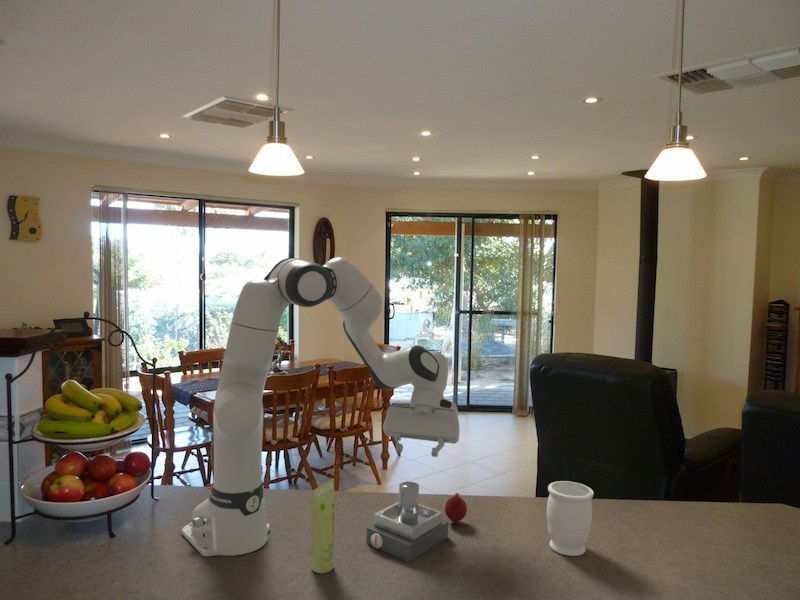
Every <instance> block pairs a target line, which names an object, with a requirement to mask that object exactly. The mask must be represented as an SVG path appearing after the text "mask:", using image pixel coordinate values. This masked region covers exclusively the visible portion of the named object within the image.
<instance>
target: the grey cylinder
mask: <svg viewBox="0 0 800 600" xmlns="http://www.w3.org/2000/svg"><path fill="white" fill-rule="evenodd" d="M398 485H399V487H398V502H399V515H398V521H399V522H401V523H404V524H406V525H415V524H417V522H418V504H419V500H420V499H419V497H420V496H419V494H420V484H418V483H417V482H415V481H403V482H401V483H399V484H398Z"/></svg>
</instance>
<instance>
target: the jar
mask: <svg viewBox="0 0 800 600" xmlns="http://www.w3.org/2000/svg"><path fill="white" fill-rule="evenodd" d="M547 491H548V492H549V495H548V499H547V503H546V519H547V520H546V521H547V529H548V533H549V536H550V537H549V538H550V539H551V540H550V541H549V544H548V545H549V547H550V549H552V551H554V552H555V553H557V554H561V555H562V556H563V555H564V556H567V557H568V556H569V557H579V556H582V555H584V553H586V545H585V544H586V543H587V540H588V538H589V534H590V529H591V526H592V520H593V506H592V499H593V497H594V491H593V489H592V488H590V487H589V486H587V485H585V484H583V483H579V482H577V481H575V482H574V481H569V480H560V481H559V480H558V481H554V482H551V483H549V484H548V485H547Z"/></svg>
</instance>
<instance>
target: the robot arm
mask: <svg viewBox="0 0 800 600" xmlns="http://www.w3.org/2000/svg"><path fill="white" fill-rule="evenodd" d="M327 300H328V301H329V302H331V304H332V305H333V306H334V308H336V310H337V311H338V313H339V314H340V316H341V317H342V319H343V322H342V328H343V330H344V334H345V335H346V337H347V338H348V340H349V342H350V343H351V345H352V347H353V348H354V349H355V352H356V353H357V354H358V356H359V357H360V359H361V360H362V361H363V363H364V365H365V366H366V368H367V370H368V371H369V374H370V377H371V379H372V381H373V383H374V384H375V385H376V386H377V387H378V388H379V389H381V390H383V391H388V392H389V391H392V390H394V389H397V388H400V387H402V386H406V385H412V386H413V389H412V393H411V396H410V401H409V404H406V403H405V404H404V403H403V404H401V403H396V402H395V403H393V404H391V405H389V406H388V407H387V410H386V417H385V419H384V421H383V425H382V431H383V433H384V434H385V436H387V437H393V438H394V440H395V445H396V446H395V452H396V453H403V450H404V446H403V443H400V442H401V440H402V439H411V440H412V439H413V440H419V441H427V442H436V443H438V444H437V445H436V446H435V447H432V448H431V452H430V453H431V457H435V458H438V457H439V452H440V451H441V450H442V449H443V448H444V446H445V444H446V443H447V444H452V445H453V444H457V443H458V442H459V441H460V431H461V430H460V421H459V410H458V407H457V404H456V403H455V402H453V401H451V400H449V399H446V398H445V395H444V392H445V391H446V388H447V385H448V384H447V383H448V377H449V364H448V359H447V357H445V355H443V354H442V353H441V352H438V351H435V350H428V349H426V348H425V347H424V346H421V345H412V346H409V347H406V348H405V347H404V348H402V349H399V350H397V351H392V352H384V351H382V350H381V348H380V347H379V346H378V344H377V342H376V341H375V339H374V337H373V336H372V334H371V332H370V329H371V327H372V326H374V324H375V323H376V322H377V320H378V318H379V317H380V315H381V312H382V309H383V298H382V295H381V294H380V292H379V291H378V289H377V288H376V286H375V285H374V284H373V282H371V281H370V280H369V278H368V277H367V276H366V275H365V274H364V273H363V271H361V269H359V268H358V267H357V266H356V265H355V264H354V263H352V262H351V260H348V258H346V257H341V256H338V257H334V258H331V259H329V260H328V261H326V262H325V263H324V264H322V265H321V264H320V263H317V262H312V261H310V260H308V259H305V258H297V257H288V258H285V259H282V260H280V261H278V262H277V263H276V264H275V265H274V266H273V267H272V269H271V270H269V272H268V273H267V274H266V276H265V277H264V278H263V279H262V278H261V279H260V278H257V279H256V278H255V279H252V280H250V281H247V282H246V283H245V284H244V285H243V286H242V289H241V291H240V293H239V295H238V298H237V300H236V303H235V306H234V307H235V308H234V311H233V315H232V318H231V322H230V328H229V332H228V337H227V341H226V347H225V349H224V350H225V351H224V356H223V360H222V365H221V369H220V372H219V373H220V374H219V378H218V383H217V388H216V391H215V397H214V404H213V412H212V415H213V416H212V417H213V419H212V421H213V422H212V424H213V427H212V428H213V483H209V484H207V486H208V487H207V490H210V493H209V496H208V498H206V499H205V500H204V501H202V502H201V503H199V504H198V505H197V506H195V508H194V509H193V511H192V515H191V522H189V523H188V524H186V525H185V526H183V527H182V529H181V535H183V537H184V538H186V540H187V541H188V542H189V543H190V544H191V545H192V546H193V548H195V550H197V552H198V553H200V555H201V556H202V557H213V556H238V555H239V556H240V555H244V554H249V553H252V552H254V551H257V550H259V549H260V548H262V547H263V546H264V545H265V544H266V543H267V542H268V540H269V539H268V538H269V537H268V533H269V531H270V530H271V527H270V523H269V522H267V519H268V518H267V512H266V511H267V509H266V501H265V498H264V481H263V480H262V469H263V468H262V466H263V465H262V463H263V462H262V461H263V460H262V458H263V452H262V451H263V450H262V449H263V436H264V435H263V433H264V430H263V429H264V405H263V394H264V390H265V386H266V382H267V379H268V375H269V372H270V368H271V365H272V363H273V358H274V353H275V349H276V344H277V340H278V335H279V330H280V325H281V318H282V316H283V313H284V312H285V310H286V309H287V307H288V306H290V305H291V304H293V305H296V306H299V307H301V308H313V307H317V306H318V305H320V304H322V303H324V301H327ZM399 441H400V442H399Z"/></svg>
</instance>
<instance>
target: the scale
mask: <svg viewBox="0 0 800 600" xmlns="http://www.w3.org/2000/svg"><path fill="white" fill-rule="evenodd" d="M448 537H449V521H448V520H445V519H442V524H440V525H439V526H437V527H435V528H434V529H432V530H430V531H429V532H427V533H425V534H424V535H422V536H420V537H419V538H417V539H415V540H414V541H412V540H409V539H407V538H404V537H402V536H400V535H397V534H395V533H392V532H390V531H387V530H385V529H383V528H380V527H378V526H375V525H374V523H373V524H371V525H370V526H367V527H366V544H367V545H369V546H371V547H373V548H375V549H378V550H380V551H382V552H384V553H387V554H389V555H392V556H394V557H396V558H398V559H400V560H403V561H405V562H408V563H410V562H411V561H413V560H415V559H416V558H418V557H419V556H422V555H423V554H424V553H426V552H427V551H429V550H430V549H432V548H433V547H435V546H436V545H438V544H440V543H441V542H443V541H444V540H446V539H448Z"/></svg>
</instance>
